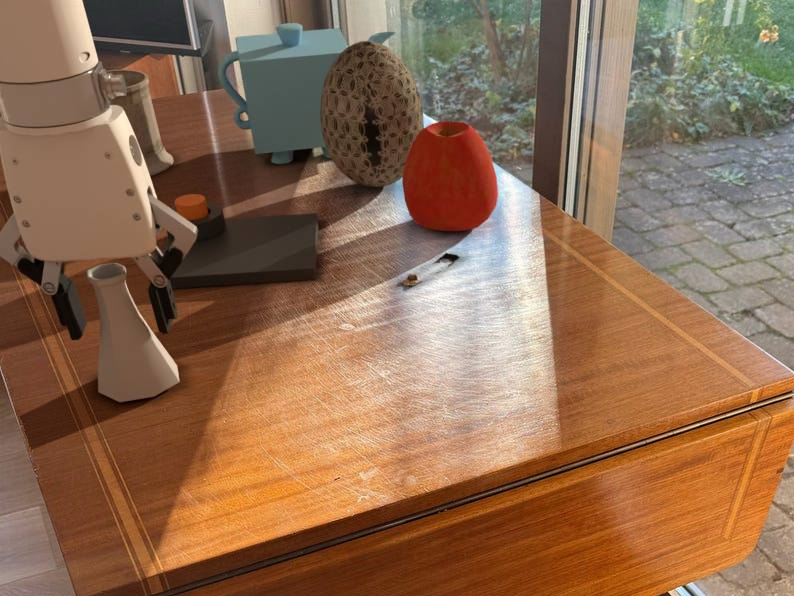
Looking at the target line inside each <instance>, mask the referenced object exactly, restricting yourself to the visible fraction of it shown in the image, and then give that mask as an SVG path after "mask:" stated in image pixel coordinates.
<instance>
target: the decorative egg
mask: <svg viewBox="0 0 794 596" xmlns="http://www.w3.org/2000/svg"><path fill="white" fill-rule="evenodd" d="M320 115H321V128H322V133H323V138H324V142H325V145H326V148H327V150H328V152H329V154H330V156H331V158H330V159H331V160H332V162H333V163H334V165H335V166H336V168H337V169H338V170H339V171H340V172H341V173H342V174H343V175H344V176H345V177H347V178H348V179H349V180H351V181H353V182H354V183H356V184H358V185H361V186H364V187H369V188H384V187H386V186H390V185H392V184H394V183H397V182H398V181H400V180H402V179H403V170H404V166H405V163H406V160H407V157H408V154H409V152H410V149H411V146H412V144H413V142H414V140H415V138H416V137H417V135H418V133H419V132H420V131H421V130H423V129H424V128H425V125H424V124H425V123H424V111H423V106H422V100H421V96H420V92H419V90H418V87H417V84H416V81H415V79H414V76H413V75H412V73H411V71H410V69H409V68H408V66H407V65H406V64H405V62H404V61H403V60H402V58H401V57H400V56H399V55H398V54H397V53H396V52H394V51H393V50H392V49H391V48H389V47H388V46H386V45H384V44H380V43H377V42H374V41H367V40H361V41H357V42H354V43H353V44H351V45H350V46H349V45H348V48H346V49H345V50H344V51H343V52H342V53H341V54H340V55H339V56H338V57H337V59H336V60H335V61H334V63H333V64H332V66H331V68H330V70H329V71H328V74H327V77H326V79H325V82H324V86H323V91H322V97H321V110H320Z"/></svg>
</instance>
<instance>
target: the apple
mask: <svg viewBox="0 0 794 596" xmlns="http://www.w3.org/2000/svg"><path fill="white" fill-rule="evenodd" d="M495 170H496V169H495V166H494V163H493V159H492V155H491V152H490V151H489V149H488V147H487V145H486V144H485V142H484V140H483V139H482V137H481V135H480V134H479V133H478V132H477V131H476V129H475V127H473V126H471V125H469V124H468V123H466V122H463V121H462V122H461V121H449V120H446V121H445V120H444V121H441V120H440V121H437V122H434V123H431V124H428V125H427V126H426V127H424V129H423V130H421V131H420V132H419V133H418V135H417V137H416V138H415V140H414V142H413V144H412V146H411V149H410V152H409V154H408V157H407V160H406V163H405V166H404V170H403V177H402V178H401V180H402V181H401V183H402V190H403V198H404V202H405V205H406V209H407V211H408V214H409V216H410V217H411V219H412V220H413V221H414V222H415V223H416V224H417V225H418V226H420V227H422V228H426V229H428V230H433V231H440V232H463V231H468V230H472V229H477V228H479V227H480V226H481V225H482V224H484V223H485V222H486V221H488V219H489V218H490V216H491V215H492V214H493V212H494V210H495V209H496V207H497V202H498V198H499V190H498V178H497V174H496V171H495Z"/></svg>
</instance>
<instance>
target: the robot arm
mask: <svg viewBox="0 0 794 596" xmlns="http://www.w3.org/2000/svg"><path fill="white" fill-rule="evenodd" d="M91 31H92V30H91V28H90V24H89V20H88V16H87V13H86V9H85V6H84V1H83V0H0V115H1V116H0V159H1V165H2V171H3V175H4V180H5V184H6V188H7V192H8V197H9V200H10V204H11V206H12V211H13V213H12V215H10V217H9V219H8V220H7V221H6V223H5V224H4V226H3V227H2V229H1V230H0V258H2V259H3V260H4V261H6V262H7V263H8V264H10V265H11V266H14V267H16V269H17V270H18V271H19V273H20V274H21V275H23V276H25V277H26V278H27V279H28V280H29V279H30V280H31V281H32V282H34V283H35V284H37V285H38V286H40V287H41V288H40V289H41V290H42V292H43V293H45V294H46V295H48V296H50V298H51V301H52V303H53V306H54V310H55V312H56V315H57V317H58V320H59V323H60V326H61V327H66V328H67V331H68V334H69V337H70V339H71V341H79V340H80V339H82V337H83V335H84V332H85V330H86V328H87V325H88V320H87V317H86V314H85V311H84V308H83V305H82V301H81V299H80V296H79V293H78V289H77V287H76V284H75V281H74V280H72V278H71V277H68V276H67V275H66V274H65V273H66V267H67V263H68V262H70V263H71V262H89V261H99V260H100V261H102V260H117V259H133V260H134V262H135V263H136V264H137V266H138V267H139V268H140V270H141V271H142V272H143V273H144V274H145V276H146V277H147V278H148V281H149V286H148V288H147V293H148V297H149V300H150V304H151V308H152V313H153V315H154V319H155V323H156V326H157V329H158V332H159V333H161V335H169V334H170V331H171V327H172V324H173V320H176V319H177V318H178V306H177V302H176V299H175V296H174V295H175V294H174V291H173V289H172V287H171V283H170V278H171V276H172V275H173V274H174V272H175V271H176V270H177V268H178V267H179V265H180V264H181V262H182V260H183V259H184V257H185V255H186V254H187V253H188V251H189V250H190V248H191V247H192V245H193V244H194V242H195V240H196V238H197V234H198V229H197V227H196V226H195V225H194V224H192V223H191V222H189V221H188V220H186V219H185V218H184V217H182V216H181V215H179V214H178V213H176V212H175V211H174V210H172V209H171V208H172V207H171V208H170V207H169V206H168V205H166V204H165V203H164V202H162V201H161V200H159V199H158V196H157V194H156V190H155V188H154V184H153V180H152V179H151V176H150V175H149V172H148V169H147V166H146V163H145V160H144V157H143V154H142V152H141V149H140V147H139V144H138V141H137V139H136V136H135V134H134V131H133V129H132V127H131V124H130V122H129V120H128V118H127V116H126V114H125V112H124V110H123V108H122V107H120V106H118V105H110V103H111V101H112V99H113V98H117V96H126V95H127V89H126V83H125V80H124V77H123V75H112V74H111V73H107V72H106V71H107V69H106V68H104V66H103V62H102V61H101V60H99V58H98V53H97V50H96V46H95V43H94V38H93V35H92V32H91ZM163 230H165V231H166V230H167V231H168V232H170V233H171V234H172V235H173V236H174V238H175V239H174V241H173V243H172V244H171V245H170V246H169V248H168V249H167V250H166V252H165V253H164V254H163V253H162V252H163V251H162V250H161V249H160V248H159V246H158V245H157V237H156V235H158V234H159V233H160V232H162V231H163ZM167 231H166V232H167ZM20 237H21V239H22V241H23V244H24V246H25V248H26V249H25V248H24V247H23V246H22V245H21V244H20V243H19V239H20Z"/></svg>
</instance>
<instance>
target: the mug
mask: <svg viewBox="0 0 794 596" xmlns="http://www.w3.org/2000/svg"><path fill="white" fill-rule="evenodd" d="M106 72H107V73H111V74H112V75H123V77H124V80H125V83H126V89H127V95H126V96H117V98H113V99H112V101H111V103H110V105H118V106H120V107H122V108H123V110H124V112H125V114H126V116H127V118H128V120H129V122H130V124H131V127H132V129H133V131H134V134H135V136H136V139H137V141H138V144H139V147H140V149H141V152H142V154H143V157H144V160H145V163H146V166H147V169H148V172H149V175H150V177H152V176H154V175H158V174H160V173H162V172H164V171H166V170H167V169H169V168H171V167H172V165H173V163H174V157H173V155H172V154H170V153H168V152H167V151H166V148H165V146H164V144H163V143H162V138H161V133H160V130H159V126H158V121H157V117H156V113H155V109H154V105H153V100H152V97H151V92H150V88H149V83H150V79H149V76H148V74H147V73H145V72H143V71H140V70H136V69H110V70H106Z"/></svg>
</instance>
